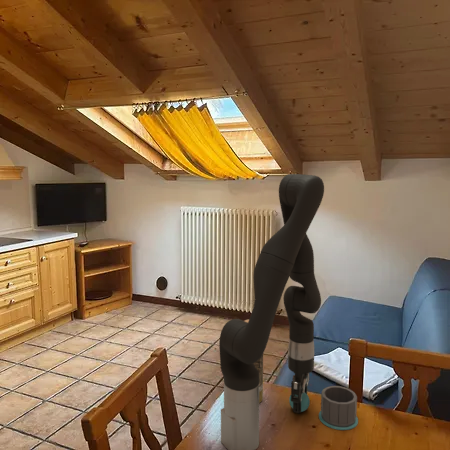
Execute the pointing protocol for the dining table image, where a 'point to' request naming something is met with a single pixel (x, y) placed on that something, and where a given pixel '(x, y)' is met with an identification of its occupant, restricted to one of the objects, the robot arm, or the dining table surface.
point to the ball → (302, 402)
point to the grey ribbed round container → (338, 408)
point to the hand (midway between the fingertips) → (300, 404)
